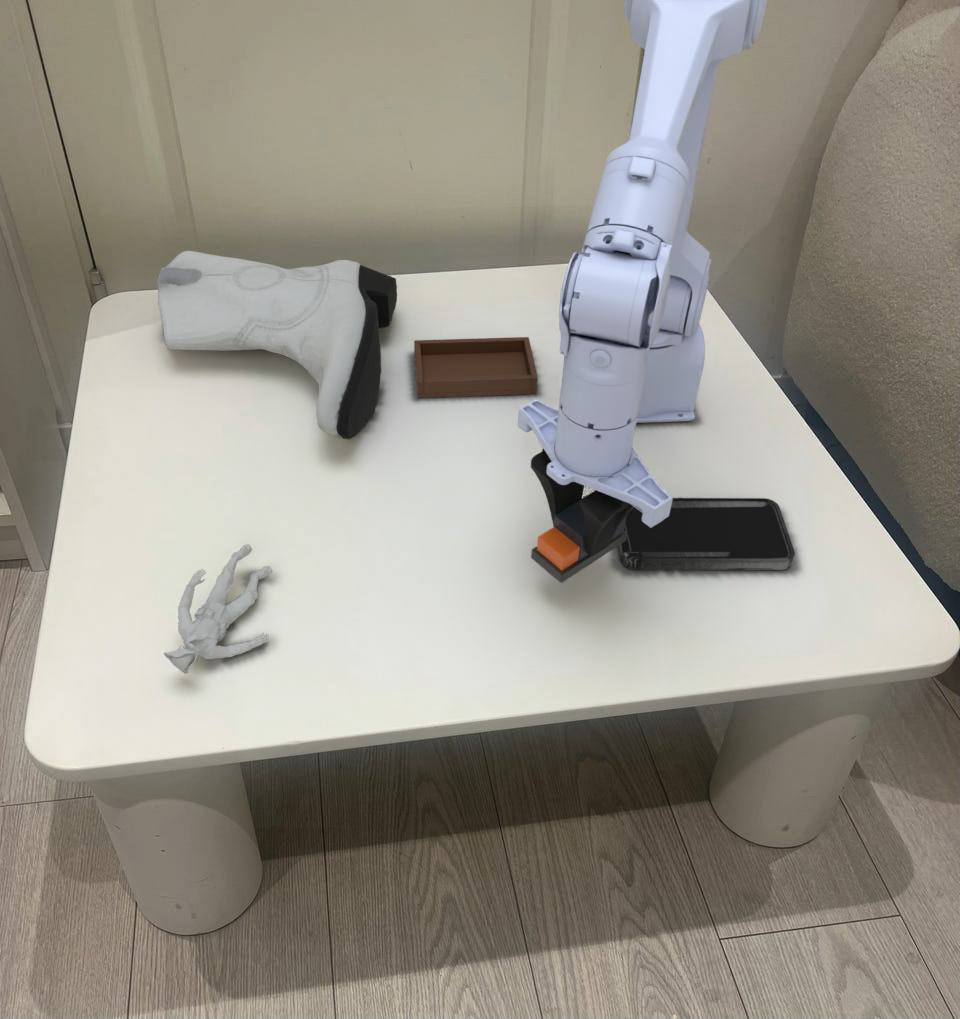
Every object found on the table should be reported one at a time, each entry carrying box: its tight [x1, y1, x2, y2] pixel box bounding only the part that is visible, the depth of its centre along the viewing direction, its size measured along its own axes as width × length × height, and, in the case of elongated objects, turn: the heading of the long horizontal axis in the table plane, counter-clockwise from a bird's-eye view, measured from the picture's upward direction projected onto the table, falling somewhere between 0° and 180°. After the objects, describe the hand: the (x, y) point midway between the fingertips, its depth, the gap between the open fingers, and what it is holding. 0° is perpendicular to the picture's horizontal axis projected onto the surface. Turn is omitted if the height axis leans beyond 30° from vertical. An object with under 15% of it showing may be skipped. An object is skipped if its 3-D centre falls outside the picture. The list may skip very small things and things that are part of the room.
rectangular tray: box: [413, 336, 539, 399], centre depth 105 cm, size 12×7×2 cm, turn 95°
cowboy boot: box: [156, 250, 398, 441], centre depth 103 cm, size 10×28×25 cm
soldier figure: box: [163, 543, 273, 675], centre depth 80 cm, size 8×5×12 cm
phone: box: [617, 497, 796, 571], centre depth 90 cm, size 8×1×15 cm
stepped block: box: [530, 500, 627, 584], centre depth 82 cm, size 8×4×4 cm, turn 130°
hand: (580, 535), depth 82 cm, fingers closed on stepped block, 3 cm apart
